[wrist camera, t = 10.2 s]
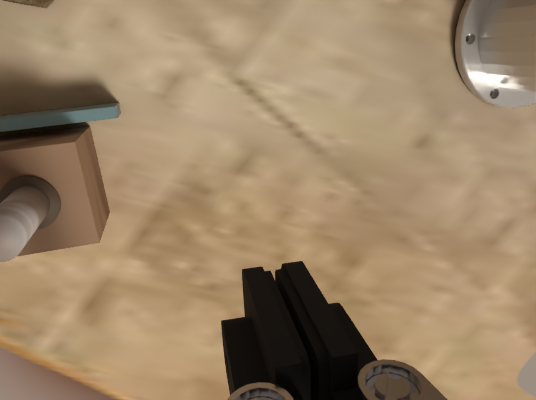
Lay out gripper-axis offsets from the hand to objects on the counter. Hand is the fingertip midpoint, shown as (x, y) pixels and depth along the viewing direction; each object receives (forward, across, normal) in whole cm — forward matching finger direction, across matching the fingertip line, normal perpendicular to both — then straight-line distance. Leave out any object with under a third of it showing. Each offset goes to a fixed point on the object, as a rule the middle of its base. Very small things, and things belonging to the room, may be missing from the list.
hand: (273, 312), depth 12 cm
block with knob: (+25, +12, +2) cm, 28 cm away
